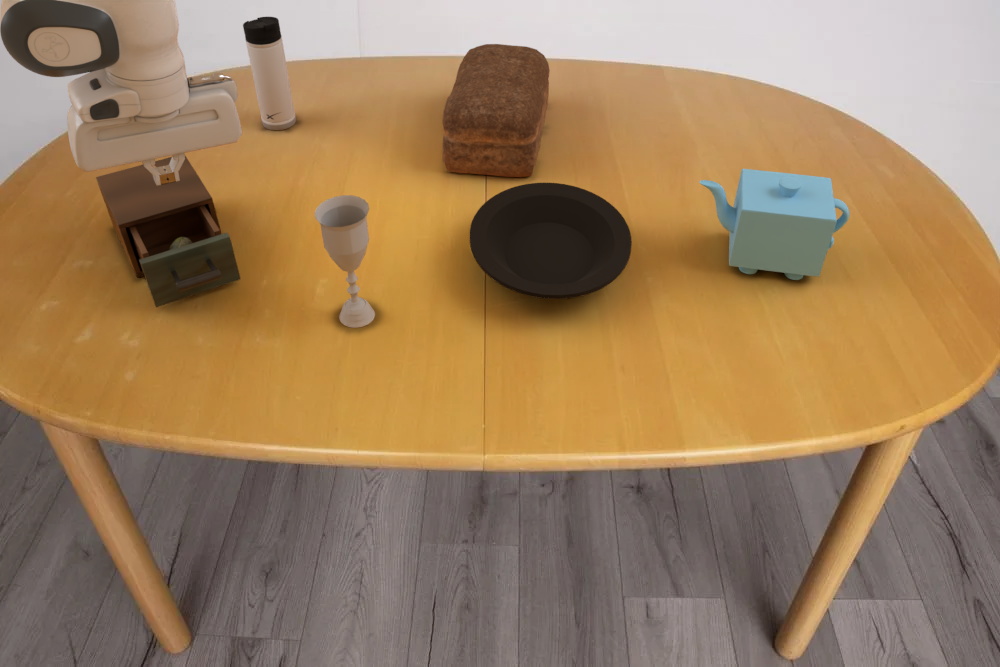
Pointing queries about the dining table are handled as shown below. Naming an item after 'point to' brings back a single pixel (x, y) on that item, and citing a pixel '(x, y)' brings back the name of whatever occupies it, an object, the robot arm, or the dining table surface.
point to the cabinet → (150, 200)
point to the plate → (550, 240)
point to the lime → (180, 242)
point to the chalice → (347, 249)
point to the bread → (496, 111)
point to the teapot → (779, 222)
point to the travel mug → (270, 72)
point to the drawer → (183, 255)
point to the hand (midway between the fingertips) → (166, 181)
